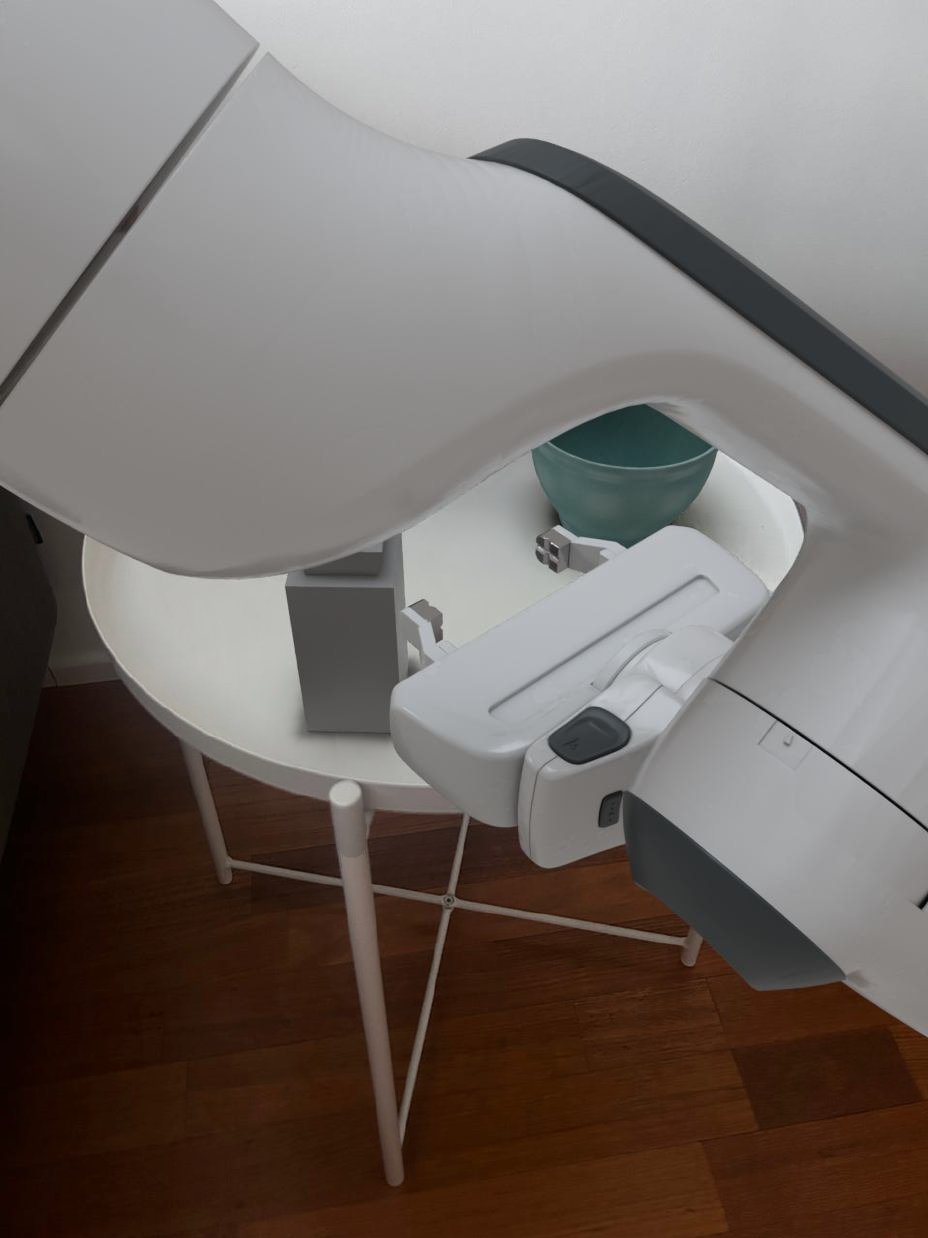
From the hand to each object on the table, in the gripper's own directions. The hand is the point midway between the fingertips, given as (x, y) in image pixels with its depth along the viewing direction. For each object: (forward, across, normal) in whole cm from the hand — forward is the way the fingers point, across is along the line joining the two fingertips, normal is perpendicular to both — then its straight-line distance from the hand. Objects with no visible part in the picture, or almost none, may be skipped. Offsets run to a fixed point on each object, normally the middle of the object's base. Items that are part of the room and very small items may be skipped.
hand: (480, 575), depth 53 cm
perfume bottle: (+13, 0, +20) cm, 24 cm away
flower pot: (+16, -30, +20) cm, 40 cm away
